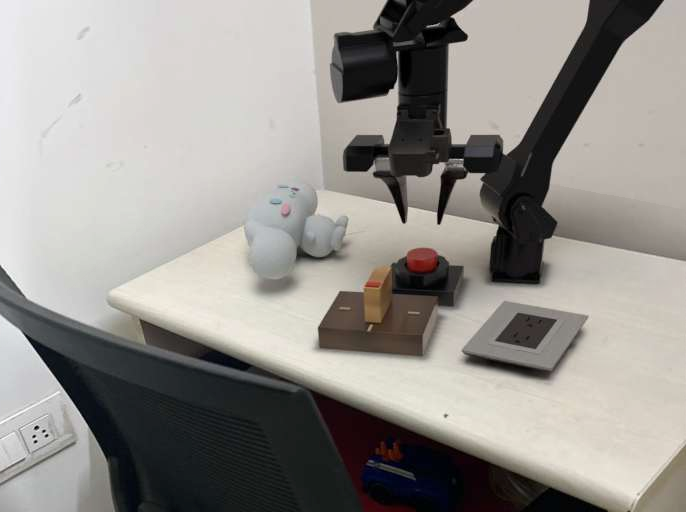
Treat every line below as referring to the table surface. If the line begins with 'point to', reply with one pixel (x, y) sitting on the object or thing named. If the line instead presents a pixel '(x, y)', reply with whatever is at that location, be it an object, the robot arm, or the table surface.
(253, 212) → the toy
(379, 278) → the knob
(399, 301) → the panel
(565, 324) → the electrical outlet
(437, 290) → the button box
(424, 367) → the table surface
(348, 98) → the robot arm
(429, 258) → the button
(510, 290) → the table surface
